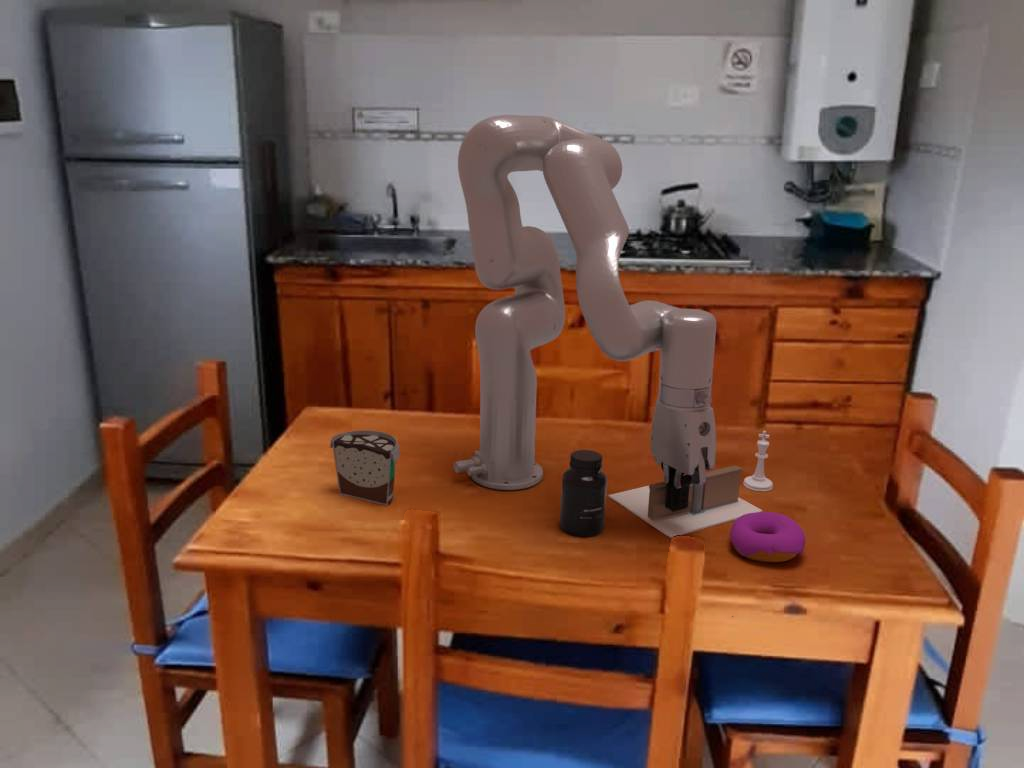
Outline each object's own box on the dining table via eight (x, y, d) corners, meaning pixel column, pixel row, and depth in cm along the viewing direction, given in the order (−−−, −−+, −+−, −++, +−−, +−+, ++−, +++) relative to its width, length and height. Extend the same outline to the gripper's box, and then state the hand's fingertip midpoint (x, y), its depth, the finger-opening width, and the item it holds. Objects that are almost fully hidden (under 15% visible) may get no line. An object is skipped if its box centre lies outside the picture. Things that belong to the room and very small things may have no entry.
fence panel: (685, 507, 135) (687, 476, 134) (691, 511, 134) (694, 480, 132) (646, 516, 132) (649, 484, 130) (652, 520, 131) (655, 488, 129)
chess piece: (773, 492, 143) (781, 438, 140) (744, 489, 144) (750, 435, 141) (771, 481, 148) (778, 427, 145) (742, 478, 149) (748, 425, 146)
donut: (733, 528, 131) (736, 500, 129) (804, 541, 127) (808, 512, 126) (724, 560, 121) (727, 531, 120) (801, 575, 118) (805, 545, 116)
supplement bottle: (591, 542, 125) (595, 468, 122) (551, 530, 129) (554, 457, 125) (611, 524, 131) (616, 453, 127) (572, 513, 134) (576, 443, 131)
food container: (415, 493, 140) (414, 436, 137) (395, 507, 135) (394, 449, 132) (353, 478, 145) (351, 424, 142) (332, 492, 140) (329, 436, 136)
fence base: (670, 538, 127) (674, 495, 125) (608, 496, 140) (610, 457, 138) (762, 512, 136) (767, 472, 134) (695, 475, 149) (699, 438, 147)
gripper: (739, 404, 119) (728, 522, 125) (671, 377, 132) (664, 485, 137) (698, 412, 116) (689, 533, 121) (633, 384, 128) (627, 494, 134)
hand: (676, 507), depth 129 cm, fingers closed
